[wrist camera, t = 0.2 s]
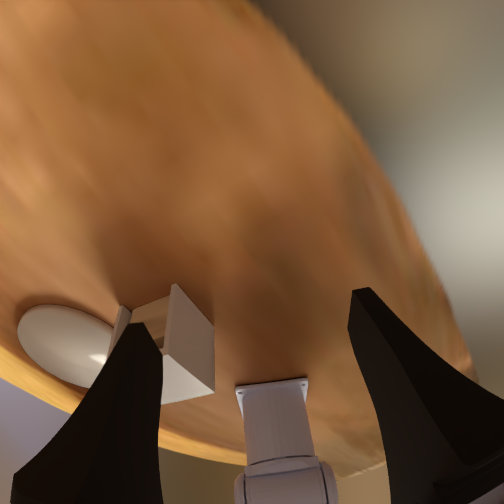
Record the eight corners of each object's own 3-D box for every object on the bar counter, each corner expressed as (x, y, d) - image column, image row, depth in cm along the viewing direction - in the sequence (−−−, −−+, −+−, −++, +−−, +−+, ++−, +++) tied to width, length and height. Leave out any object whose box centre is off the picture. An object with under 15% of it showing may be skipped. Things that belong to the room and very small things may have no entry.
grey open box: (214, 326, 25) (215, 392, 20) (160, 344, 26) (153, 405, 22) (176, 282, 22) (167, 354, 17) (119, 306, 23) (103, 372, 18)
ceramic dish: (154, 382, 31) (153, 390, 30) (59, 379, 30) (57, 386, 30) (106, 300, 23) (102, 309, 22) (-1, 306, 22) (-5, 314, 22)
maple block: (200, 323, 25) (199, 363, 22) (161, 336, 26) (157, 375, 23) (173, 292, 23) (167, 334, 20) (133, 308, 24) (124, 348, 20)
